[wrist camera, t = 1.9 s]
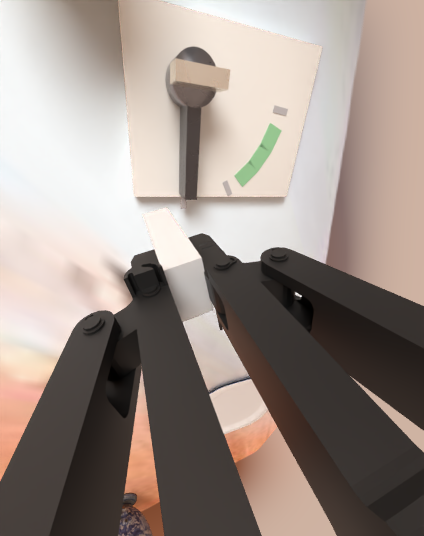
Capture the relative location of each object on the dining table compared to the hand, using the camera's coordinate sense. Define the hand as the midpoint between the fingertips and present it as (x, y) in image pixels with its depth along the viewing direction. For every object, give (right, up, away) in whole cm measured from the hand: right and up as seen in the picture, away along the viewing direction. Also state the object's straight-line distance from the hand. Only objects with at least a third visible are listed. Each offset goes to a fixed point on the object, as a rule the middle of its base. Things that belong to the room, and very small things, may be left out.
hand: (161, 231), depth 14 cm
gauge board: (+4, +16, +14) cm, 21 cm away
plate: (+10, -41, +53) cm, 67 cm away
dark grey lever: (0, +13, +12) cm, 18 cm away
